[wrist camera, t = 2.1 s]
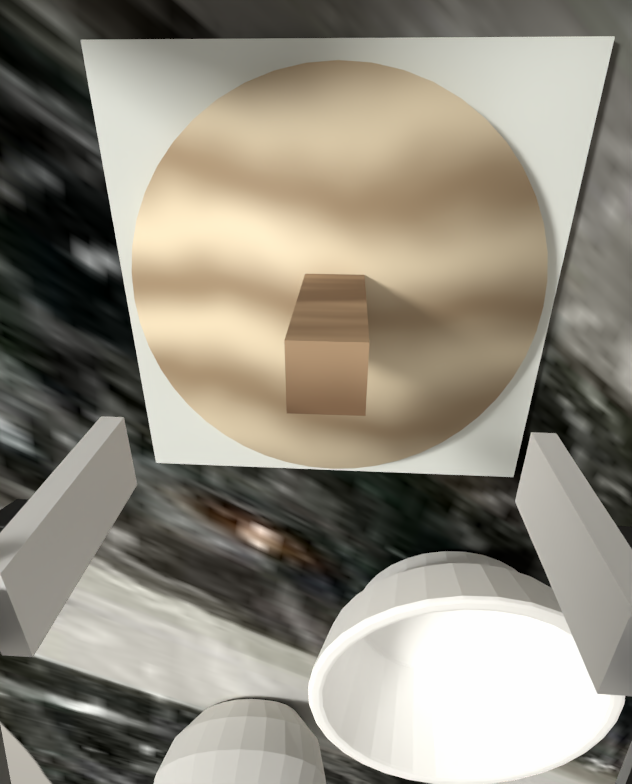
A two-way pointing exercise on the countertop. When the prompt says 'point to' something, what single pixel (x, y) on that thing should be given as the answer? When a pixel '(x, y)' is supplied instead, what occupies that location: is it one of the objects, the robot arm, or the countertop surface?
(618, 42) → the countertop surface
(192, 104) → the mat
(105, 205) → the countertop surface
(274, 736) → the soap bottle
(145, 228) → the lid
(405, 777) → the bowl
